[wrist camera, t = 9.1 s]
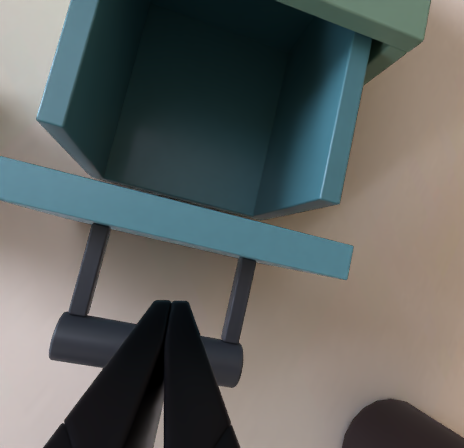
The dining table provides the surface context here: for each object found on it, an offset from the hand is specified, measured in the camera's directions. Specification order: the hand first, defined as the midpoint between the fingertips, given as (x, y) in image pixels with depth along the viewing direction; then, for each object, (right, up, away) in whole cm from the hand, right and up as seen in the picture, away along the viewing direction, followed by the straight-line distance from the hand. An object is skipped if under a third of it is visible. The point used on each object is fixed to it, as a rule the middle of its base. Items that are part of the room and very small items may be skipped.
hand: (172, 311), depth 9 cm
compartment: (-1, +5, +12) cm, 13 cm away
